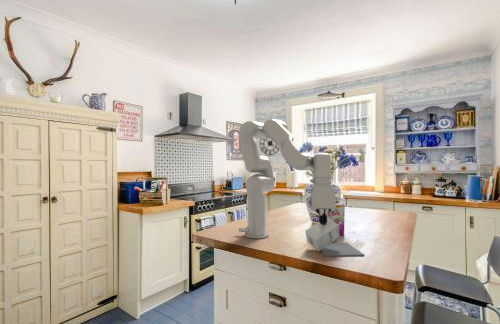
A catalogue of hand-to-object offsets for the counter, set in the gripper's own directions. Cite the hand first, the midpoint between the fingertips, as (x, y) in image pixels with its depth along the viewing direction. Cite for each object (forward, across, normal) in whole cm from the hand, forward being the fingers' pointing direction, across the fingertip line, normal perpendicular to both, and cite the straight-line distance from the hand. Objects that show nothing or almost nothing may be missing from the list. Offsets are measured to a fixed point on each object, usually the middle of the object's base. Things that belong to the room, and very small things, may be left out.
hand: (323, 224), depth 112 cm
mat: (+11, +6, +1) cm, 13 cm away
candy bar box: (+11, +14, +26) cm, 31 cm away
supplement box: (+7, -6, 0) cm, 9 cm away
